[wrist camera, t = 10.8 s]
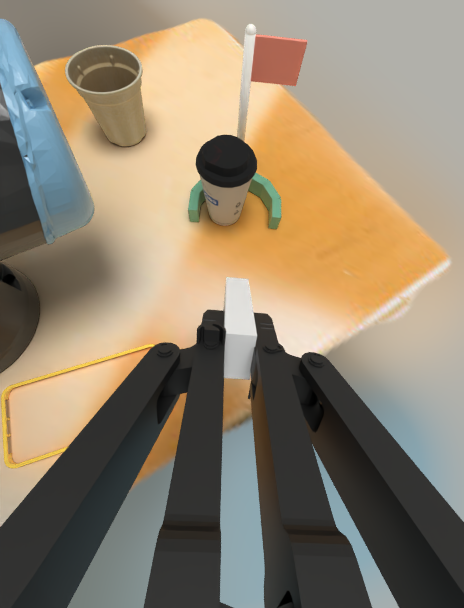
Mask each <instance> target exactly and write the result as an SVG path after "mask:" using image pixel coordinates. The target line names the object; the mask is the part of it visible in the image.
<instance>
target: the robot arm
mask: <svg viewBox="0 0 464 608" xmlns="http://www.w3.org/2000/svg"><path fill="white" fill-rule="evenodd" d="M93 214H94V203H93V200H92V197H91V194H90V192H89V190H88V187H87V185H86V182H85V180H84V178H83V175H82V173H81V171H80V169H79V166H78V164H77V162H76V159H75V157H74V155H73V153H72V150H71V148H70V146H69V144H68V141H67V139H66V137H65V135H64V133H63V130H62V128H61V126H60V123H59V121H58V119H57V117H56V114H55V112H54V110H53V108H52V105H51V103H50V101H49V99H48V97H47V94H46V92H45V90H44V88H43V85H42V83H41V81H40V79H39V77H38V74H37V72H36V70H35V68H34V66H33V64H32V62H31V60H30V58H29V56H28V53H27V51H26V49H25V47H24V44H23V42H22V40H21V38H20V36H19V34H18V32H17V30H16V28H15V27H14V26H13V25H12V24H11V23H10V22H9V21H7V20H5V19H0V372H2V371H3V370H5V369H6V368H7V367H8V366H10V365H11V364H12V363H13V362H14V361H15V360H16V359H17V358H18V357H19V356H20V355H21V354H22V352H23V351H24V350H25V348H26V347H27V345H28V344H29V342H30V341H31V339H32V337H33V335H34V332H35V330H36V327H37V324H38V319H39V311H40V307H39V299H38V295H37V292H36V290H35V288H34V286H33V284H32V283H31V281H30V280H29V279H28V278H27V277H26V276H25V275H23V274H22V273H21V272H19V271H18V270H16V269H14V268H12V267H11V266H9V265H7V264H5V263H3V262H1V260H3V259H6V258H8V257H11V256H14V255H16V254H19V253H21V252H24V251H27V250H29V249H32V248H34V247H37V246H39V245H42V244H45V243H47V244H48V245H49V244H52V243H53V242H54V241H55V239H56V238H58V237H61V236H63V235H65V234H67V233H70V232H72V231H74V230H76V229H79V228H81V227H83V226H85V225H86V224H87V223H89V222H90V220H91V218H92V216H93ZM250 374H251V384H250V390H249V395H248V399H250V397H251V407H252V419H253V430H254V442H255V454H256V465H257V478H258V490H259V502H260V514H261V526H262V537H263V549H264V562H265V578H264V604H265V608H372V606H371V603H370V600H369V597H368V593H367V591H366V587H365V584H364V581H363V578H362V574H361V571H360V568H359V565H358V562H357V559H356V556H355V553H354V551H353V548H352V546H351V544H350V542H349V540H348V539H347V537H346V536H345V535H343V534H342V533H341V532H340V531H339V530H338V529H337V527H336V525H335V521H334V518H333V515H332V512H331V508H330V505H329V501H328V498H327V494H326V491H325V487H324V484H323V480H322V477H321V474H320V470H319V467H318V464H317V460H316V456H315V453H314V449H313V446H314V448H315V450H316V452H317V454H318V456H319V457H320V459H321V461H322V463H323V465H324V467H325V469H326V470H327V472H328V474H329V476H330V478H331V480H332V482H333V484H334V486H335V488H336V489H337V491H338V493H339V495H340V497H341V499H342V501H343V503H344V504H345V506H346V508H347V510H348V512H349V514H350V516H351V518H352V519H353V521H354V523H355V525H356V527H357V529H358V531H359V533H360V535H361V536H362V538H363V540H364V542H365V544H366V546H367V547H368V550H369V551H370V553H371V555H372V557H373V559H374V561H375V563H376V565H377V566H378V568H379V570H380V572H381V574H382V576H383V577H384V579H385V581H386V583H387V585H388V587H389V589H390V591H391V593H392V595H393V596H394V598H395V600H396V602H397V604H398V606H399V608H464V522H463V521H462V520H461V519H460V517H459V516H458V515H457V514H456V513H455V511H454V510H453V509H452V508H451V507H450V505H449V504H448V503H447V502H446V501H445V499H444V498H443V497H442V496H441V495H440V493H439V492H438V491H437V490H436V489H435V487H434V486H433V485H432V484H431V483H430V482H429V480H428V479H427V478H426V477H425V476H424V474H423V473H422V472H421V471H420V469H419V468H418V467H417V466H416V465H415V463H414V462H413V461H412V460H411V459H410V457H409V456H408V455H407V454H406V453H405V451H404V450H403V449H402V448H401V447H400V445H399V444H398V443H397V442H396V440H395V439H394V438H393V437H392V436H391V434H390V433H389V432H388V431H387V430H386V429H385V427H384V426H383V425H382V424H381V423H380V421H379V420H378V419H377V418H376V416H375V415H374V414H373V413H372V412H371V411H370V409H369V408H368V407H367V406H366V405H365V403H364V402H363V401H362V400H361V398H360V397H359V396H358V395H357V394H356V393H355V391H354V390H353V389H352V388H351V387H350V385H349V384H348V383H347V382H346V381H345V379H344V378H343V377H342V376H341V375H340V373H339V372H338V371H337V370H336V369H335V367H334V366H333V365H332V364H331V363H330V361H329V360H328V359H327V358H326V357H324V356H322V355H320V354H318V353H314V352H308V353H305V354H303V355H302V358H299V357H295V356H292V355H289V354H287V353H286V352H285V350H284V348H283V346H282V345H280V344H279V343H278V340H277V336H276V333H275V329H274V325H273V321H272V318H271V317H270V316H269V315H268V314H263V313H253V306H252V300H251V293H250V287H249V281H248V279H242V278H230V277H226V287H225V298H224V309H223V311H218V310H207V311H206V312H205V313H204V314H203V319H202V324H201V325H200V326H199V327H198V328H197V343H196V344H195V345H194V346H192V347H190V348H186V349H179V347H178V346H177V345H175V344H173V343H166V342H165V343H159V344H157V345H155V346H153V347H152V348H151V349H150V350H149V352H148V353H147V354H146V355H145V356H144V357H143V359H142V360H141V361H140V362H139V363H138V365H137V366H136V367H135V368H134V369H133V370H132V372H131V373H130V374H129V375H128V376H127V378H126V379H125V380H124V381H123V382H122V384H121V385H120V386H119V387H118V388H117V389H116V391H115V392H114V393H113V394H112V395H111V397H110V398H109V399H108V400H107V401H106V403H105V404H104V405H103V406H102V407H101V408H100V410H99V411H98V412H97V413H96V414H95V416H94V417H93V418H92V419H91V420H90V422H89V423H88V424H87V425H86V426H85V427H84V429H83V430H82V431H81V432H80V433H79V435H78V436H77V437H76V438H75V439H74V441H73V442H72V443H71V444H70V445H69V446H68V448H67V449H66V450H65V451H64V452H63V454H62V455H61V456H60V457H59V458H58V459H57V461H56V462H55V463H54V464H53V465H52V467H51V468H50V469H49V470H48V471H47V473H46V474H45V475H44V476H43V477H42V478H41V480H40V481H39V482H38V483H37V484H36V486H35V487H34V488H33V489H32V490H31V492H30V493H29V494H28V495H27V496H26V497H25V499H24V500H23V501H22V502H21V503H20V505H19V506H18V507H17V508H16V509H15V511H14V512H13V513H12V514H11V515H10V516H9V518H8V519H7V520H6V521H5V522H4V524H3V525H2V526H1V527H0V608H67V606H68V605H69V603H70V601H71V599H72V597H73V595H74V593H75V591H76V590H77V588H78V586H79V584H80V582H81V580H82V578H83V576H84V575H85V572H86V571H87V569H88V567H89V565H90V563H91V561H92V559H93V558H94V556H95V554H96V552H97V550H98V548H99V546H100V544H101V543H102V541H103V539H104V537H105V535H106V533H107V531H108V530H109V528H110V526H111V524H112V522H113V520H114V518H115V516H116V515H117V513H118V511H119V509H120V507H121V505H122V503H123V501H124V500H125V498H126V496H127V494H128V492H129V490H130V488H131V487H132V485H133V483H134V481H135V479H136V477H137V475H138V473H139V472H140V470H141V468H142V466H143V464H144V462H145V460H146V458H147V457H148V455H149V453H150V451H151V449H152V447H153V445H154V443H155V442H156V440H157V438H158V436H159V434H160V432H161V430H162V428H163V427H164V425H165V423H166V421H167V419H168V417H169V415H170V413H171V412H172V410H173V408H174V406H175V404H176V402H177V400H178V398H179V396H180V394H182V393H187V392H188V393H187V398H186V403H185V409H184V414H183V419H182V425H181V430H180V436H179V441H178V446H177V452H176V457H175V462H174V468H173V473H172V479H171V484H170V489H169V495H168V500H167V506H166V511H165V516H164V521H163V525H162V527H161V529H160V531H159V535H158V538H157V543H156V548H155V552H154V558H153V563H152V568H151V573H150V578H149V584H148V589H147V593H146V599H145V604H144V608H233V607H230V606H228V605H226V604H223V603H221V602H220V563H221V559H220V558H221V531H220V500H221V463H222V462H221V461H222V428H223V391H224V378H233V379H248V380H249V379H250ZM312 444H313V446H312Z"/></svg>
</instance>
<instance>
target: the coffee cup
mask: <svg viewBox="0 0 464 608" xmlns="http://www.w3.org/2000/svg"><path fill="white" fill-rule="evenodd" d="M196 167H197V170H198V173H199V174H200V177H201V182H202V186H203V190H204V195H205V199H206V203H207V208H208V212H209V216H210V218H211V219H212V221H213V222H215V223H216V224H219V225H224V226H227V225H232V224H233V223H235V222H236V221H237V220H238V219H239V217H240V214H241V211H242V208H243V205H244V201H245V198H246V195H247V192H248V189H249V186H250V183H251V180H252V178H253V176H254V175H255V172H256V170H257V160H256V157H255V154H254V152H253V150H252V149H251V148H250V147H249V146H248V144H246V143H245V142H244V141H243V140H241V139H240V138H238V137H235V136H232V135H220V136H217V137H215V138H213V139H211V140H210V141H208V142H206V143H205V144H204V145H203V146H202V147H201V149H200V151H199V153H198V155H197V157H196Z"/></svg>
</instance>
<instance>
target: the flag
mask: <svg viewBox="0 0 464 608" xmlns="http://www.w3.org/2000/svg"><path fill="white" fill-rule="evenodd" d="M306 45H307V40H302V39H293V38H284V37H275V36H266V35H257V34H256V28H255V26H254V25H253V24H249V25H248V26H247V27H246V30H245V41H244V54H243V67H242V80H241V92H240V105H239V118H238V131H237V137H238V138H240V139H241V140H243V141H244V139H245V130H246V121H247V112H248V102H249V93H250V84H251V81H254V82H263V83H273V84H282V85H292V86H296V83H297V79H298V76H299V72H300V67H301V64H302V60H303V56H304V53H305V49H306Z"/></svg>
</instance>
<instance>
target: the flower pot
mask: <svg viewBox="0 0 464 608" xmlns="http://www.w3.org/2000/svg"><path fill="white" fill-rule="evenodd" d="M65 74H66V77H67V79H68V81H69V83H70V84H71V85H72V86H73V87H74V88H75V89H77V91H78V93H79V94H80V95H81V96H82V97H83V98H84V99H85V101H86V103H87V104H88V106H89V108H90V109H91V111H92V113H93V114H94V116H95V118H96V119H97V121H98V123H99V124H100V126H101V128H102V130H103V131H104V133H105V135H106V137H107V138H108V140H109V141H110V142H112V143H115V144H117V145H119V146H132V145H135V144H137V143H139V142H140V141H141V139H142V138H143V137H144V136H145V135H146V127H145V119H144V111H143V103H142V95H141V83H142V82H141V76H142V64H141V62H140V60H139V58H138V57H137V56H136V55H135V54H134V53H132V52H131V51H129V50H126V49H124V48H121V47H117V46H112V45H98V46H93V47H89V48H86V49H84V50H81V51H79V52H77V53H76V54H74V55H73V56H72V57H71V58H70V59H69V61H68V62H67V64H66V69H65Z"/></svg>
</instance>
